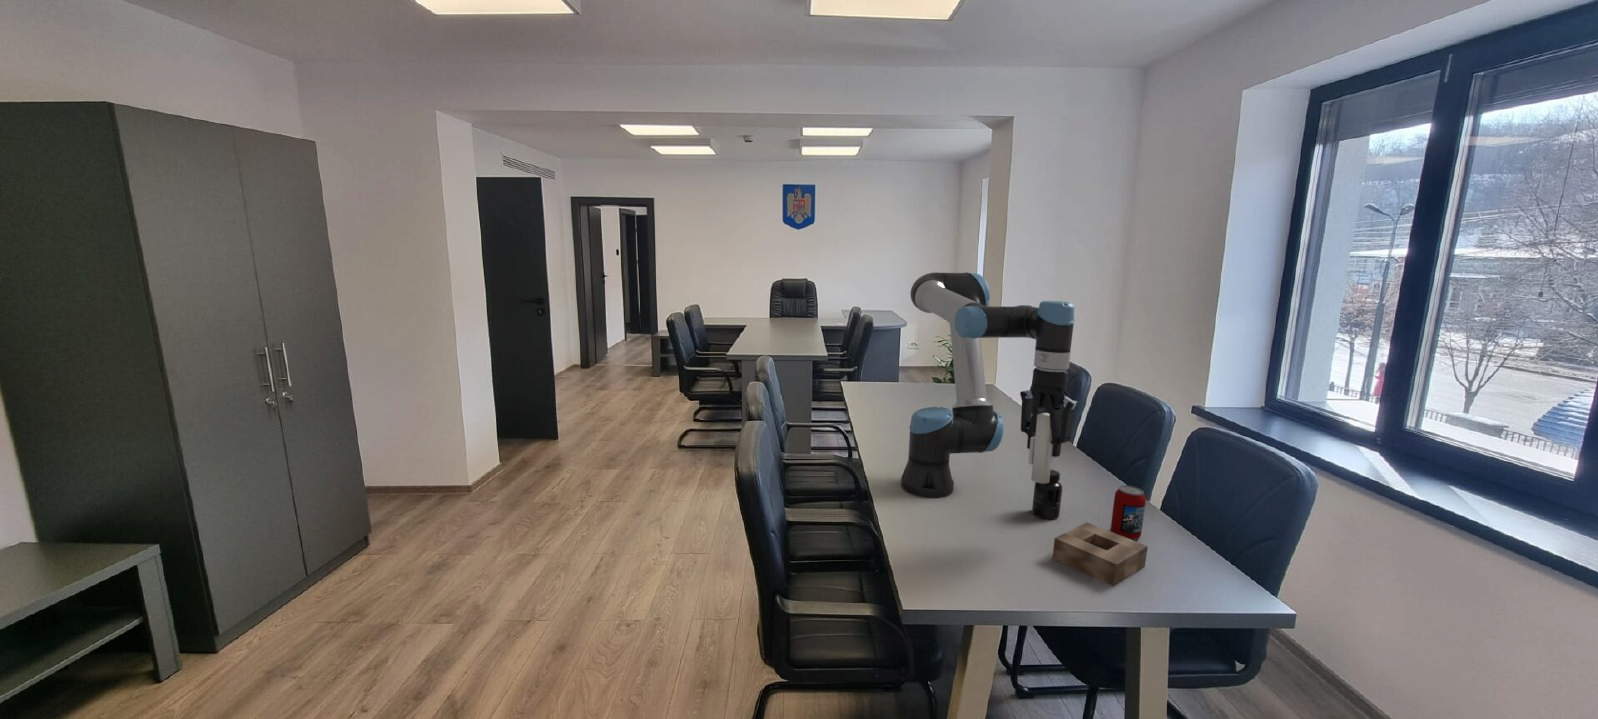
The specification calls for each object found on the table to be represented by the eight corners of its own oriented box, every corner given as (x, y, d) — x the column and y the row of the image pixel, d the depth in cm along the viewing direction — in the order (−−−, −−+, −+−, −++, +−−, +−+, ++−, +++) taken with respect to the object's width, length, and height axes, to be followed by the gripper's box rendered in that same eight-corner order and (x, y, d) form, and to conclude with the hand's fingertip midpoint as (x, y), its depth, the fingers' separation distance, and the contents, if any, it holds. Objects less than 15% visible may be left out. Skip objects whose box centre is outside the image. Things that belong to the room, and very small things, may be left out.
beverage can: (1129, 543, 146) (1135, 497, 143) (1104, 531, 151) (1109, 486, 149) (1146, 538, 149) (1153, 492, 146) (1121, 526, 154) (1127, 482, 152)
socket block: (1052, 558, 138) (1054, 537, 137) (1084, 541, 146) (1086, 522, 145) (1113, 586, 127) (1116, 564, 126) (1144, 566, 135) (1147, 545, 134)
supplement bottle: (1061, 521, 157) (1066, 477, 154) (1034, 518, 158) (1038, 475, 156) (1056, 510, 163) (1060, 468, 161) (1029, 507, 165) (1034, 466, 162)
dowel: (1027, 479, 143) (1033, 414, 141) (1037, 476, 146) (1043, 412, 143) (1043, 484, 140) (1049, 418, 138) (1052, 481, 143) (1059, 415, 140)
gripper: (1009, 364, 143) (1001, 458, 147) (1077, 376, 129) (1066, 480, 133) (1027, 361, 147) (1019, 453, 151) (1095, 373, 134) (1084, 473, 138)
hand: (1041, 465), depth 142 cm, fingers closed on dowel, 4 cm apart
